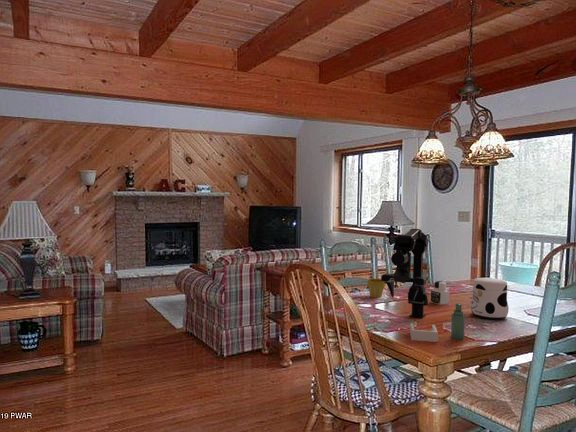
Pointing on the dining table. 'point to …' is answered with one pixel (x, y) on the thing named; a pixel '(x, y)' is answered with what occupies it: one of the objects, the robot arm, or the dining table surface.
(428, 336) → the u rest
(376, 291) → the plant pot
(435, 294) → the medicine bottle
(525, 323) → the dining table surface
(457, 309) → the glass bottle
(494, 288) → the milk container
